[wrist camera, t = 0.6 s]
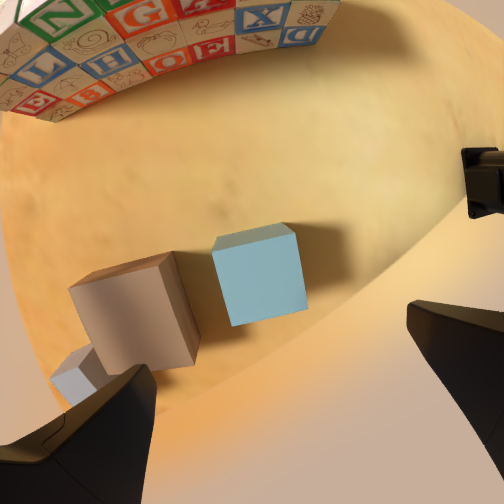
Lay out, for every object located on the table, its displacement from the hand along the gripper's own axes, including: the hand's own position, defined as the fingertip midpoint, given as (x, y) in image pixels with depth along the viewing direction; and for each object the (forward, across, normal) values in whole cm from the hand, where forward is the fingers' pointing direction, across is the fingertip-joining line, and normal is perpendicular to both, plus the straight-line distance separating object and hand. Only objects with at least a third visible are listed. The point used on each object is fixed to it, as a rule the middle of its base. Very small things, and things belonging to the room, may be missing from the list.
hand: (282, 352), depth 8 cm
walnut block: (+12, +9, +2) cm, 15 cm away
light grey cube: (+11, +16, +7) cm, 21 cm away
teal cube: (+12, 0, 0) cm, 12 cm away
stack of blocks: (+12, +3, -18) cm, 22 cm away
